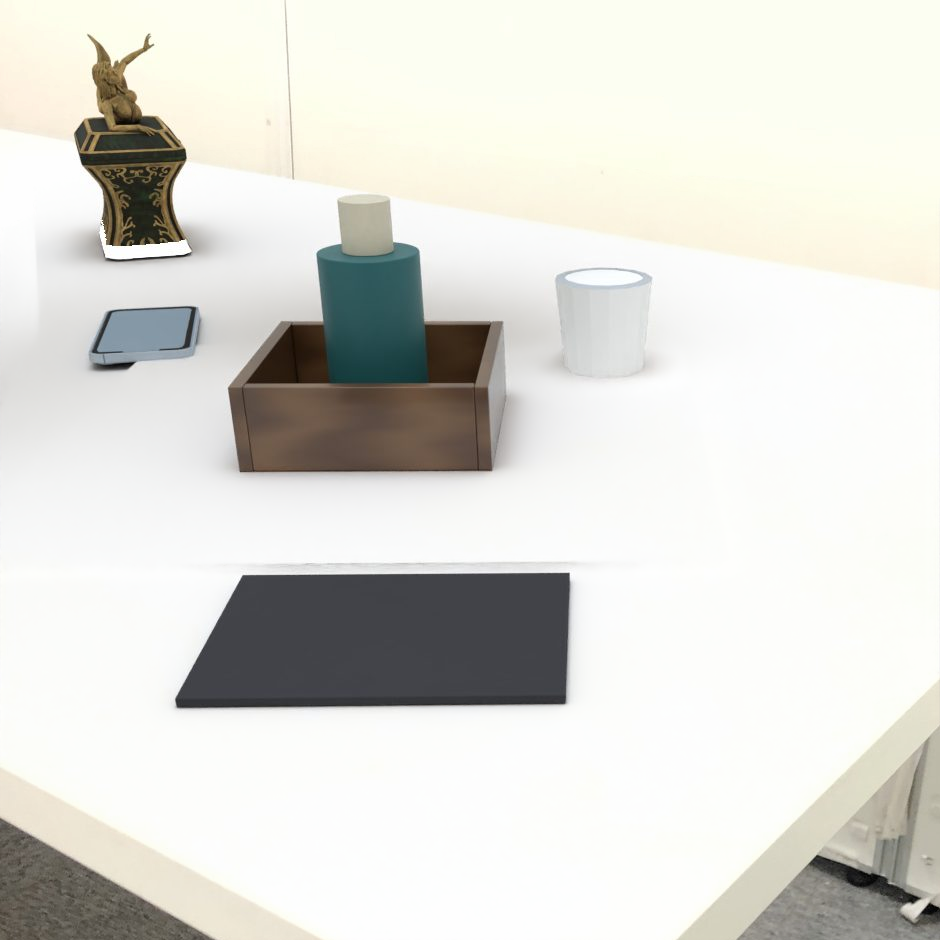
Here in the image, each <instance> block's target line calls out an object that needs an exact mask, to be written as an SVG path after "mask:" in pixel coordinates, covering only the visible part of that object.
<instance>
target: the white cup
mask: <svg viewBox="0 0 940 940" xmlns="http://www.w3.org/2000/svg"><path fill="white" fill-rule="evenodd" d="M652 281H653V276H651V275H650V274H648V273H647V272H643V271H638V270H635V269H629V268H620V267H587V268H577V269H573V270H567V271H563V272H562V273H559V274H557V275H556V277H555V278H554V282H555V292H556V300H557V309H558V310H557V311H558V319H559V327H560V336H561V346H562V353H563V363H564V369H565V370H567V372H568V373H571V374H574V375H577V376H579V377H587V378H595V379H596V378H597V379H598V378H599V379H611V378H612V379H614V378H622V377H623V378H624V377H627V376H632V375H636V374H638V373H639V372H641V371H643V369H644V363H645V353H646V344H647V343H646V342H647V334H648V323H649V312H650V304H651V303H650V302H651V294H652V283H653V282H652Z"/></svg>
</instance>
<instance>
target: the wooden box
mask: <svg viewBox="0 0 940 940" xmlns="http://www.w3.org/2000/svg"><path fill="white" fill-rule="evenodd" d="M424 323H425V338H426V352H427V367H428V381H429V383H335V384H330V381H329V371H328V361H327V352H326V342H325V333H324V323H323V320H317V321H316V320H309V321H307V320H303V321H302V320H301V321H298V320H295V321H294V320H281V321H280V322H279V324H278V325H277V326H276V327H275V328H274V330H273V331H272V332H271V333H270V335H269V336H268V337H267V338H266V339H265V341H264V342H263V343H262V345H261V346H260V347H259V348H258V349H257V351H255V353H254V355H253V356H252V357H251V358H250V359H249V360H248V362H246V364H245V366H243V368H242V369H241V371H240V372H239V373H238V374H237V376H236V377H235V378H234V379H233V380H232V382H231V383H230V384H229V385H228V387H227V392H228V400H229V406H230V413H231V420H232V421H231V422H232V430H233V435H234V442H235V449H236V457H237V464H238V470H239V473H341V472H342V473H344V472H345V473H355V472H356V473H364V472H365V473H371V472H372V473H374V472H375V473H378V472H379V473H380V472H381V473H382V472H384V473H388V472H389V473H390V472H392V473H394V472H395V473H397V472H398V473H400V472H401V473H402V472H403V473H404V472H406V473H411V472H412V473H413V472H417V473H419V472H493V470H494V464H495V459H496V453H497V448H498V443H499V437H500V433H501V428H502V427H501V426H502V422H503V415H504V411H505V410H504V409H505V404H506V399H507V381H506V379H507V376H506V375H507V374H506V353H505V351H506V349H505V329H504V327H505V326H504V321H503V320H492V321H491V320H424Z"/></svg>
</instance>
